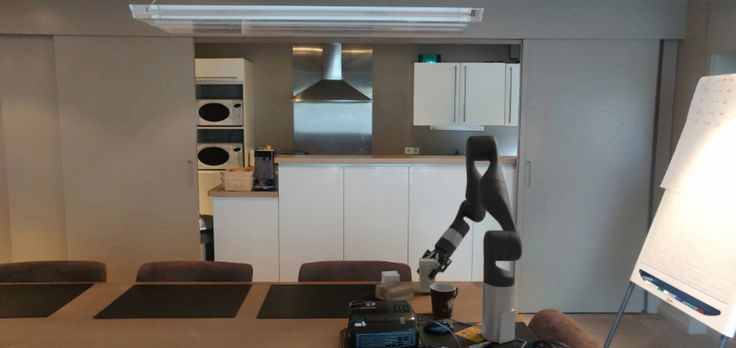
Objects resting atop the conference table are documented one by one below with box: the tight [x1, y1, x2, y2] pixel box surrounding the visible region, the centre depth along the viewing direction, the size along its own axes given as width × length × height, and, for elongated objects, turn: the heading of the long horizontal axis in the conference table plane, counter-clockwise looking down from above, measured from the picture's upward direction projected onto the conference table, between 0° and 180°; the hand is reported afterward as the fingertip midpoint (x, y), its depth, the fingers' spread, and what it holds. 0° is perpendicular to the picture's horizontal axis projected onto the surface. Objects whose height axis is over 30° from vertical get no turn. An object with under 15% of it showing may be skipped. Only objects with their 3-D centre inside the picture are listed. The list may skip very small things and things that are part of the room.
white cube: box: [381, 270, 401, 284], centre depth 198 cm, size 6×6×6 cm
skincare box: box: [418, 257, 436, 293], centre depth 192 cm, size 6×4×12 cm
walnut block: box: [375, 280, 415, 302], centre depth 186 cm, size 10×10×5 cm
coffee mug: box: [430, 282, 459, 319], centre depth 170 cm, size 12×9×10 cm
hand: (423, 275), depth 191 cm, fingers closed on skincare box, 7 cm apart
